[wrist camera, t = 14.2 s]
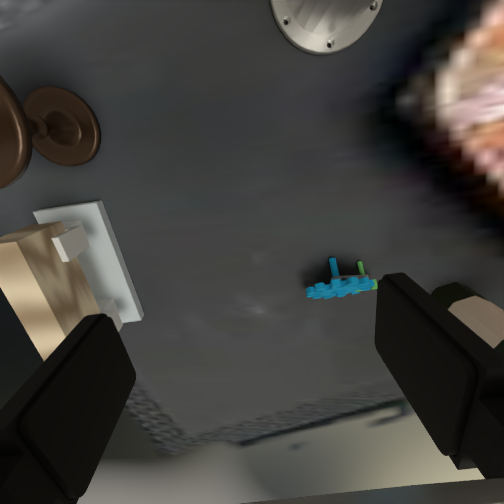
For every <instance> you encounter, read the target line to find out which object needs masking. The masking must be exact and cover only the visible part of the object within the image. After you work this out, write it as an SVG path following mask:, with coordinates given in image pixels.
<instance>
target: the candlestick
mask: <svg viewBox="0 0 504 504" xmlns="http://www.w3.org/2000/svg"><path fill="white" fill-rule="evenodd" d="M100 144H101V130H100V125H99V123H98V120H97V118H96V116H95V114H94V112H93V110H92V109H91V108H90V107H89V105H88V104H87V103H86V102H85V101H84V100H83V99H82V98H80V97H79V96H77V95H76V94H74V93H72V92H70V91H68V90H65V89H62V88H58V87H52V86H45V87H40V88H38V89H36V90H34V91H32V92H31V93H30V94H29V95H28V96H27V97H26V99H25V100H24V103H23V106H22V105H21V103H20V101H19V100H18V98H17V97H16V95H15V93H14V92H13V90H12V89H11V88H10V86H9V85H8V84H7V83H6V82H5V81H4V79H3V78H2V77H1V76H0V189H2V188H5V187H7V186H9V185H12V184H14V183H15V182H16V181H17V180H18V179H20V178H21V177H22V175H23V174H24V173H25V171H26V170H27V168H28V166H29V163H30V160H31V156H32V147H34V148H35V149H36V150H37V152H38V153H40V154H41V155H42V156H43V157H44V158H46V159H48V160H49V161H51V162H53V163H56V164H58V165H63V166H77V165H82V164H85V163H87V162H89V161H90V160H92V159H93V158H94V157H95V155H96V154H97V152H98V150H99V148H100Z"/></svg>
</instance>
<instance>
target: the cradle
mask: <svg viewBox="0 0 504 504" xmlns="http://www.w3.org/2000/svg"><path fill="white" fill-rule="evenodd" d="M33 213H34V215H35V217H36V220H37V222H38V224H44V223H51V222H59V221H62V224H63V226H64V228H65V232H63V233H61V234H59V235H57V236H55V237H53V238H51V239H52V241H53V243H54V245H55V247H56V249H57V251H58V253H59V255H60V258H61V260H62V262H68V261H70V260H72V259H73V258H75V257H76V256H77V258H78V261H79V263H80V265H81V268H82V270H83V272H84V275H85V277H86V279H87V282H88V284H89V286H90V289H91V291H92V293H93V296H94V298H95V300H96V302H97V305H98V307H99V309H100V312H101V313H104V314H106V315H107V316H108V317H111V318H112V319H113V321H114V323H115V326H116V328H117V330H118V332H119V331H120V329H121V327H122V326H123V324H122V323H125V322H132V321H139V320H142V318H143V316H144V312H143V310H142V307H141V304H140V302H139V299H138V296H137V294H136V291H135V288H134V286H133V283H132V280H131V278H130V275H129V272H128V270H127V267H126V264H125V261H124V259H123V256H122V253H121V251H120V248H119V245H118V243H117V240H116V237H115V235H114V232H113V229H112V227H111V224H110V221H109V219H108V216H107V213H106V211H105V208H104V205H103V202H102V200H101V201H94V202H87V203H81V204H74V205H67V206H61V207H54V208H47V209H41V210H38V211H35V212H33Z"/></svg>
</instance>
